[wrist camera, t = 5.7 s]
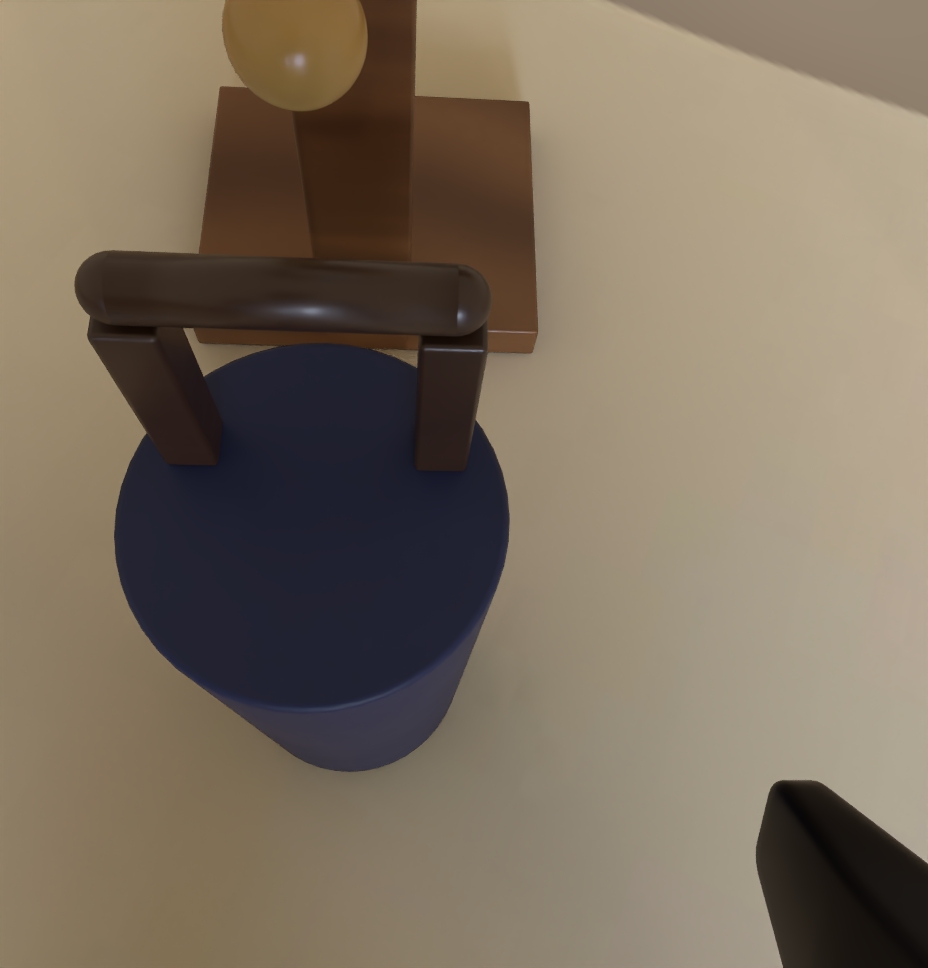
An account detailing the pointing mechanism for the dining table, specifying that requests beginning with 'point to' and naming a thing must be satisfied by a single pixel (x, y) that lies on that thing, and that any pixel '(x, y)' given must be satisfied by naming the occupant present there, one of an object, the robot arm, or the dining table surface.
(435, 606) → the blue handled weight
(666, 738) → the dining table surface
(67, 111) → the dining table surface
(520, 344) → the hook stand
